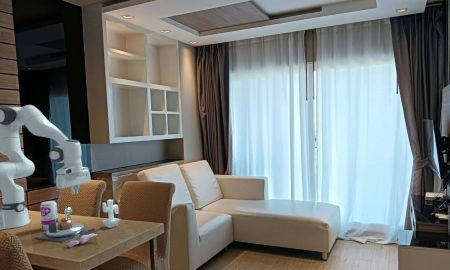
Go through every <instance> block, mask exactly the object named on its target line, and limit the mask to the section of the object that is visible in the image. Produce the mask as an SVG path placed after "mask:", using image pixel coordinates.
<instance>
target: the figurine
mask: <svg viewBox="0 0 450 270" xmlns="http://www.w3.org/2000/svg"><path fill="white" fill-rule="evenodd" d="M106 202H107V203H106ZM106 202H102V205H101V206H102V211H103V213H108V218H107V219H103V220H102V221H101V222H102V224H103V225H104V226H105V227H106V228H109V229H110V228H111V229H112V228H114V227H117V226H119V223H120V222H121V218H117V217H114V214H116V215H117V214H119V205H118V204H114V200H113V199H108V200H107V201H106Z"/></svg>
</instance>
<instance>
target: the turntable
mask: <svg viewBox="0 0 450 270" xmlns="http://www.w3.org/2000/svg"><path fill="white" fill-rule="evenodd" d="M84 227H85V225H84V223H81V222H72V228H70V229H67V230H58V225H57V226H56V222H51V223H49V229H48V230H45V231H46V232H45V233H47V236H48V237H64V236H70V235H74V234H77V233H79V232H81V231H83V230H84Z"/></svg>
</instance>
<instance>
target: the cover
mask: <svg viewBox="0 0 450 270" xmlns="http://www.w3.org/2000/svg"><path fill="white" fill-rule="evenodd" d="M72 223H73V219H72V218H71V219H68V218H67V217H62V218H60V219H59V220H58V222H57V224H58V230H67V229H70V228H72Z"/></svg>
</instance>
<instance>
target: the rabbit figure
mask: <svg viewBox="0 0 450 270" xmlns="http://www.w3.org/2000/svg"><path fill="white" fill-rule="evenodd" d="M75 235H77V236H76V237H74V238H72V239H70V240H69V242H66V243H63V244H64V245H63V246H64V247H65V248H67V246H68V248H71V249H72V248H73V247H74V246H77V245H79V243H80V244H81V245H84V244H85V243H87V242H89V240H90V239H91V238H92V237H97V236H98V234H97V233H88V234H82V235H80V236H79V234H75ZM76 239H77V240H76ZM78 239H79V240H78Z"/></svg>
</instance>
